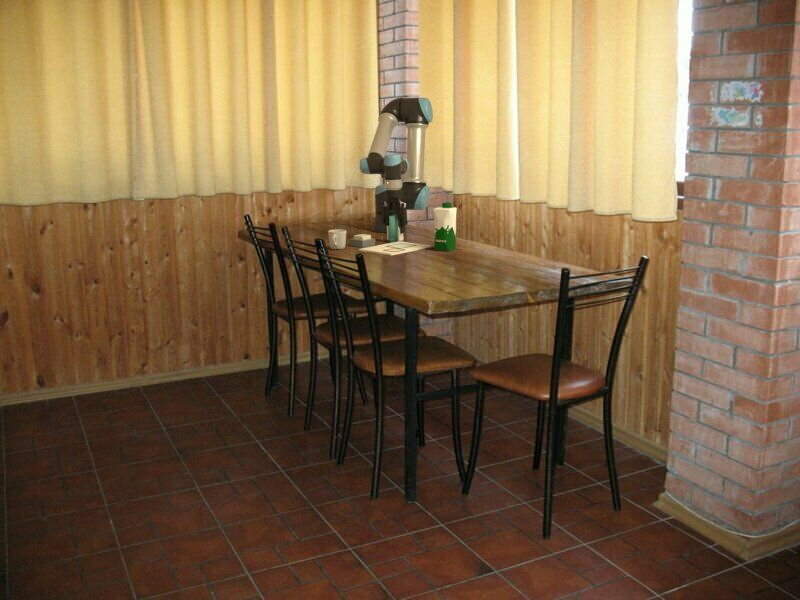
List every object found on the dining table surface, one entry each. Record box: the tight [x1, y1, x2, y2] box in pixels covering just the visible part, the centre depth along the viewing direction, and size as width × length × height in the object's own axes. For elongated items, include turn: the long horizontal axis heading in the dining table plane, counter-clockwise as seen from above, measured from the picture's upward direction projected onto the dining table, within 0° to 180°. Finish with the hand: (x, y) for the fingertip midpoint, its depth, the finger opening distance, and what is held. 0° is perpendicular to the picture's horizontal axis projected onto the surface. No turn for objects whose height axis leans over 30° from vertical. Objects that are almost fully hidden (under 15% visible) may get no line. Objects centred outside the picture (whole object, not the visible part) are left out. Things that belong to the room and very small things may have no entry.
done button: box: [353, 233, 372, 240], centre depth 389 cm, size 5×5×3 cm
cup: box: [327, 228, 347, 250], centre depth 380 cm, size 11×8×8 cm
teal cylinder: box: [388, 215, 398, 243], centre depth 397 cm, size 4×4×12 cm
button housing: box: [349, 237, 376, 248], centre depth 389 cm, size 8×8×3 cm
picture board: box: [358, 241, 432, 256], centre depth 379 cm, size 26×19×1 cm
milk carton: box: [433, 201, 458, 252], centre depth 374 cm, size 9×9×20 cm
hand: (395, 240), depth 397 cm, fingers open, 6 cm apart
